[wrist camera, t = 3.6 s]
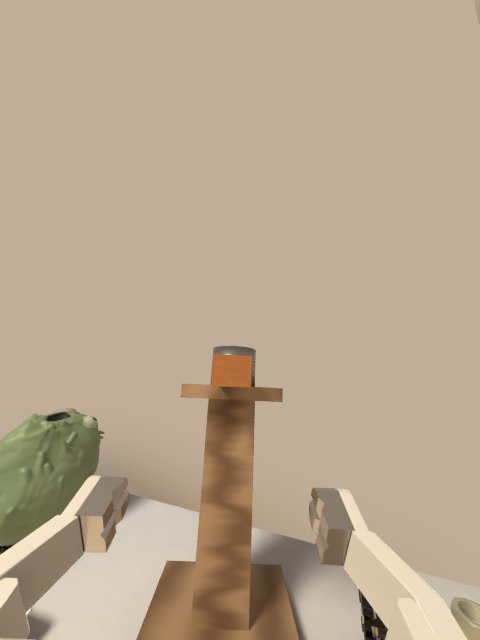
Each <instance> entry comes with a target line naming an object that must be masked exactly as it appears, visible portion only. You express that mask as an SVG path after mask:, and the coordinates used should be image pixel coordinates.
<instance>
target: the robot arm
mask: <svg viewBox="0 0 480 640" xmlns="http://www.w3.org/2000/svg"><path fill="white" fill-rule="evenodd" d="M475 1H476V11H477V16H478V20H479V23H480V0H475ZM127 485H128V481H127V478H120V477H108V476H95V475H91V476H90V477H89V478H88V479H87V480H86V481H85V482H84V484H83V485H82V487H81V488H80V489H79V491H78V492H77V493H76V495H75V496H74V498H73V499H72V500H71V502H70V503H69V504H68V506H67V507H66V509H65V510H64V511H63V513H62V514H61V515H56V516H55V517H54V518H52V519H51V520H49V521H48V522H46V523H45V524H44V525H42V526H41V527H39V528H38V529H36V530H35V531H34V532H32V533H31V534H29V535H28V536H27V537H25V538H24V539H22V540H21V541H19V542H18V543H17V544H15V545H14V546H12V547H11V548H9V549H8V550H7V551H5V552H4V553H2V554H1V555H0V640H34V639H27V638H28V636H29V634H30V627H29V623H28V619H27V615H26V612H27V611H28V610H29V609H30V608H31V607H32V606H33V605H34V604H35V603H36V602H37V601H38V600H39V599H40V598H41V597H42V596H43V595H44V594H45V593H46V592H47V591H48V590H49V589H50V588H51V587H52V586H53V585H54V584H55V583H56V582H57V581H58V580H59V579H60V578H61V577H62V576H63V575H64V574H65V572H66V571H67V570H68V569H69V568H70V567H71V566H72V565H73V564H74V563H75V562H76V561H77V560H78V559H79V558H80V557H81V556H82V555H83V554H84V552H92V553H106V552H107V550H108V548H109V546H110V544H111V542H112V540H113V538H114V536H115V533H116V528H115V526H116V525H117V524H118V523H119V522H120V521H121V520H122V519H123V516H124V514H125V512H126V508H127V505H128V499H129V493H128V492H127V491H126V487H127ZM311 495H312V498H313V500H312V501H311V502H310V506H309V516H310V522H311V526H312V530H313V531H314V533H315V534H316V535H317V540H316V545H317V549H318V553H319V556H320V560H321V564H328V565H340V566H344V569H345V570H346V571H347V573H348V574H349V576H350V577H351V578H352V580H353V581H354V583H355V584H356V585H357V587H358V588H359V590H360V591H361V592H362V594H363V595H364V597H365V598H366V599H367V601H368V602H369V604H370V605H371V606H372V608H373V609H374V611H375V612H376V613H377V615H378V616H379V617H380V619H381V620H382V622H383V623H384V624H385V626H386V627H387V629H388V631H387V635H386V638H385V640H467V638H466V637H465V635H464V633H463V632H462V630H461V628H460V627H459V625H458V623H457V622H456V620H455V618H454V617H453V615H452V613H451V612H450V610H449V608H448V607H447V605H446V603H445V602H444V600H443V599H442V598H441V597H440V596H439V595H438V594H437V593H436V592H435V591H434V590H433V589H432V588H431V587H430V586H429V585H428V584H427V583H426V582H425V581H424V580H423V579H422V578H421V577H420V576H418V575H417V574H416V573H415V572H414V571H413V570H412V569H411V568H410V567H409V566H408V565H407V564H406V563H405V562H404V561H403V560H402V559H401V558H400V557H399V556H398V555H397V554H396V553H395V552H393V550H391V549H390V548H389V547H388V546H387V545H386V544H385V543H384V542H383V541H382V540H381V539H380V538H379V537H378V536H377V535H376V534H375V533H374V532H369V529H368V527H367V525H366V523H365V521H364V519H363V517H362V515H361V513H360V511H359V509H358V507H357V505H356V503H355V501H354V499H353V497H352V495H351V493H350V491H349V490H347V489H334V488H313V489H312V493H311Z"/></svg>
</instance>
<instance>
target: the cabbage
mask: <svg viewBox="0 0 480 640" xmlns="http://www.w3.org/2000/svg"><path fill="white" fill-rule="evenodd" d="M97 426H98V423H97V419H95V418H94V417H92V416H86V415H83V414H80V413H79V412H76V410H75V409H72V408H66V409H64V410H63V411H62V412H55V413H52V414H49V415H40V416H38V415H37V414H33V415H32V416H30V417H29V418H28V419H27V420H25V421H24V422H23V423H22V424H21V425H20V426H18V427H17V428H16V429H14V430H13V431H12V432H10V433H8V434H7V435H6V436H4V437H3V438H2V439H1V440H0V546H11V545H15V544H17V543H18V542H19V541H21V540H22V539H24V538H25V537H27V536H28V535H29V534H31V533H32V532H34V531H35V530H36V529H38V528H39V527H41V526H42V525H44V524H45V523H46V522H48V521H49V520H51V519H52V518H54V517H55V516H56V515H61V514H62V513H63V511H64V510H65V509H66V507H67V506H68V504H69V503H70V502H71V500H72V499H73V498H74V496H75V495H76V493H77V492H78V491H79V489H80V488H81V487H82V485H83V484H84V482H85V481H86V480H87V479H88V478H89V477H90V476H91V475H94V473H95V471H96V468H97V465H98V460H99V445H100V439H101V438H103V437H102V436H100V434H104V432H102V431H99V430H98V427H97Z"/></svg>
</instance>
